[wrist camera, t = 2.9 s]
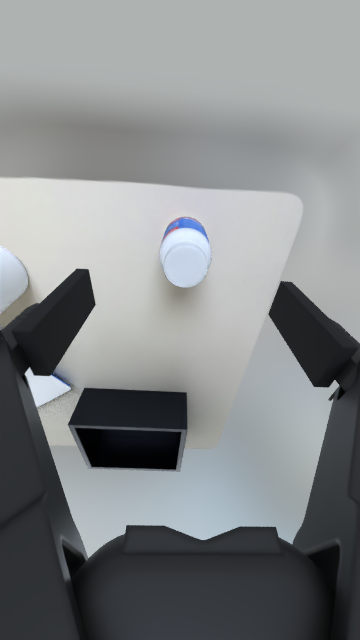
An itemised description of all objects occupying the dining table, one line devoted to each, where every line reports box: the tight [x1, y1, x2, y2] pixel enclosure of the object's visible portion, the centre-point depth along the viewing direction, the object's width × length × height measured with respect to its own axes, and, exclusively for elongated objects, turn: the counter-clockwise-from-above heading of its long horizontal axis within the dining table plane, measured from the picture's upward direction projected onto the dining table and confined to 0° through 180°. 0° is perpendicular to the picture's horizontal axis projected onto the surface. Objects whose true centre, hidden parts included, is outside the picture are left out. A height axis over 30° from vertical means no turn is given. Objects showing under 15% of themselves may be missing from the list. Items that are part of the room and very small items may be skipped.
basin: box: [68, 388, 187, 471], centre depth 47 cm, size 22×20×8 cm
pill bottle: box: [159, 217, 212, 288], centre depth 23 cm, size 6×5×10 cm
